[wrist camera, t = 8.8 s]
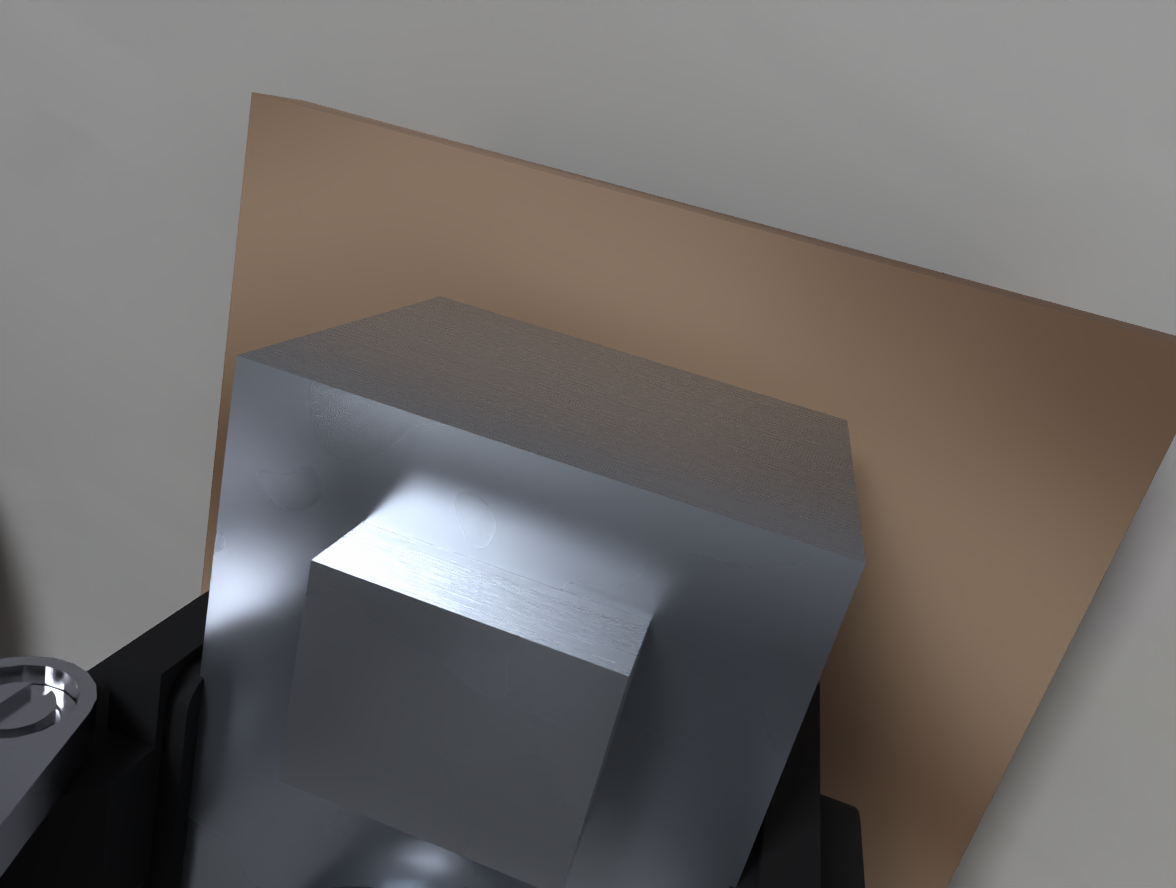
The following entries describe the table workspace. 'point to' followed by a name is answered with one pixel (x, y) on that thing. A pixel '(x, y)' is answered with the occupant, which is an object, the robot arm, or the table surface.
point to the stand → (786, 372)
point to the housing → (507, 611)
